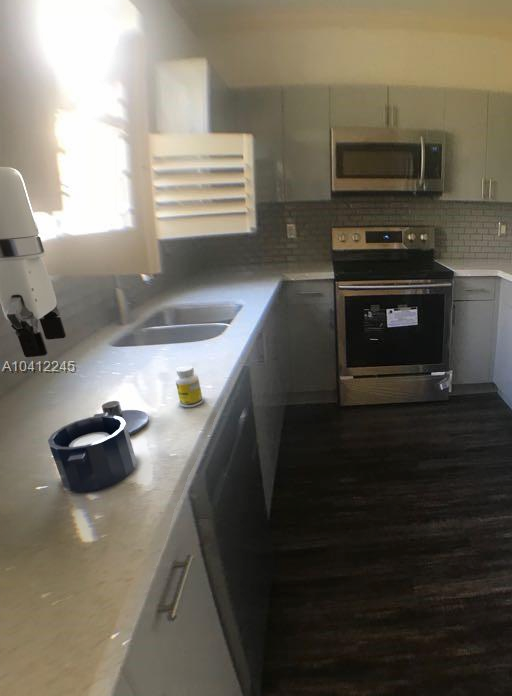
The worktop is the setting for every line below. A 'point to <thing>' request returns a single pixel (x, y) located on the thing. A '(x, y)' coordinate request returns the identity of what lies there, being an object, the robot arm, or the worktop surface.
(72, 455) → the pot
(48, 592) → the worktop surface
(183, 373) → the supplement bottle
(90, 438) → the white cup
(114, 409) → the pot lid
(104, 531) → the worktop surface
